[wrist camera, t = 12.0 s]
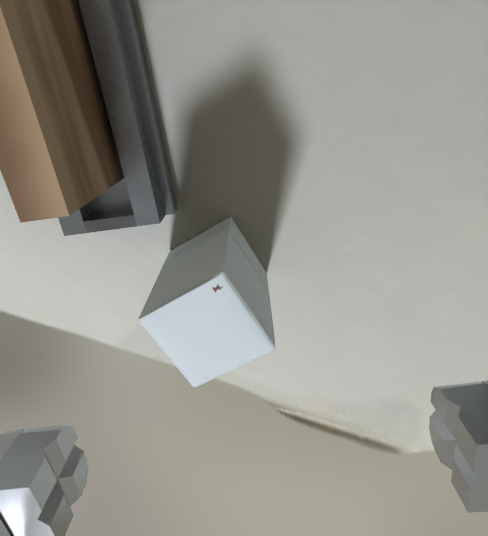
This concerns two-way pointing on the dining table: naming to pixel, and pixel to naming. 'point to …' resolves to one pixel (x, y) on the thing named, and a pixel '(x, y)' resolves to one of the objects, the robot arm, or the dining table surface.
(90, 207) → the tray
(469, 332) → the dining table surface
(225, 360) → the supplement box
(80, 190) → the door panel
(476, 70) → the dining table surface
